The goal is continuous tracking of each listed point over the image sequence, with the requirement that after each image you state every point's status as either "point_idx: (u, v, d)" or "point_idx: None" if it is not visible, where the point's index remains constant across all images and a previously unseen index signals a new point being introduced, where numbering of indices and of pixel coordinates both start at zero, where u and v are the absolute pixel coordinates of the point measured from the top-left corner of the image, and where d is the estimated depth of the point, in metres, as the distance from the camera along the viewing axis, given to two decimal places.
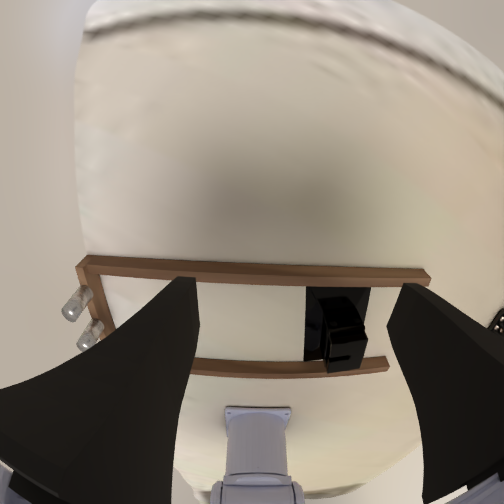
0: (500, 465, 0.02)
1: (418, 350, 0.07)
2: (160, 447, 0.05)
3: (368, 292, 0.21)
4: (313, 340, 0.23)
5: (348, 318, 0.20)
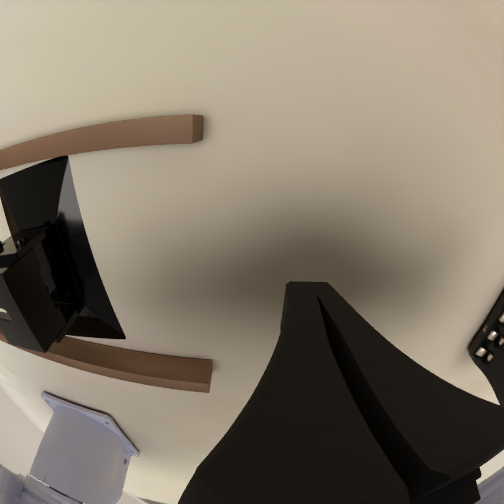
0: None
1: None
2: None
3: (71, 191, 0.09)
4: None
5: None
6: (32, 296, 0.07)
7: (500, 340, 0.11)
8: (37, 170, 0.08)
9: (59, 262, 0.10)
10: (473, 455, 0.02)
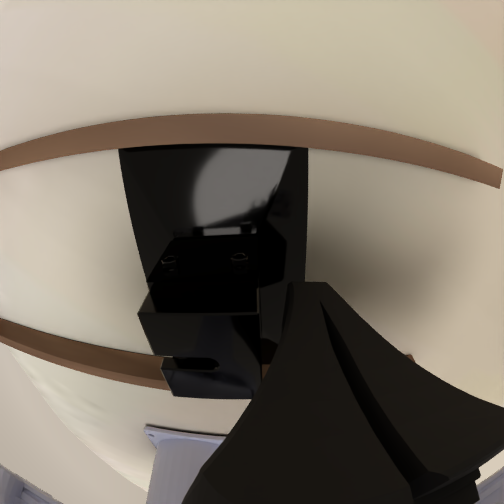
0: None
1: None
2: None
3: (290, 197, 0.09)
4: None
5: (221, 253, 0.08)
6: None
7: None
8: (232, 160, 0.08)
9: None
10: (472, 456, 0.02)
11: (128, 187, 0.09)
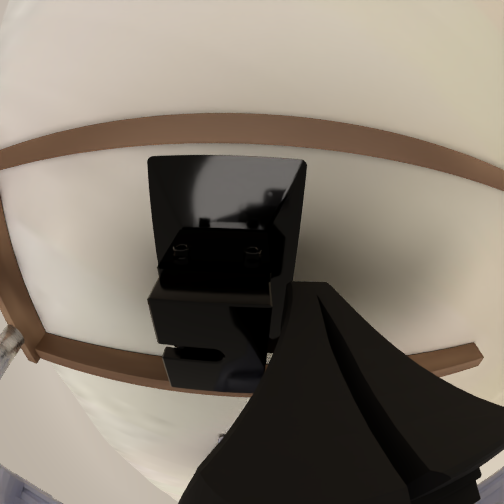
0: None
1: None
2: None
3: (302, 198, 0.09)
4: None
5: (232, 246, 0.08)
6: None
7: None
8: (250, 156, 0.08)
9: None
10: (473, 455, 0.02)
11: None
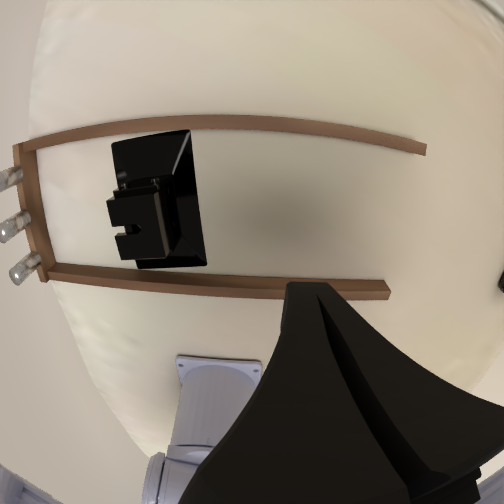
0: None
1: None
2: None
3: (189, 154, 0.15)
4: None
5: (149, 180, 0.15)
6: (163, 215, 0.14)
7: None
8: (159, 137, 0.15)
9: (170, 201, 0.16)
10: (473, 455, 0.02)
11: None
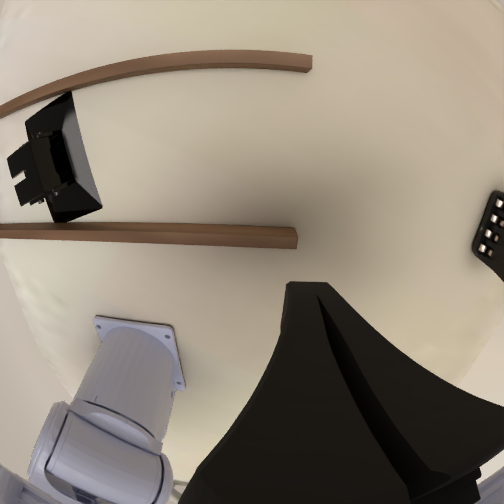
0: None
1: None
2: None
3: (72, 109, 0.14)
4: None
5: None
6: (43, 158, 0.12)
7: (495, 237, 0.16)
8: (52, 104, 0.13)
9: (62, 152, 0.14)
10: (473, 455, 0.02)
11: None
